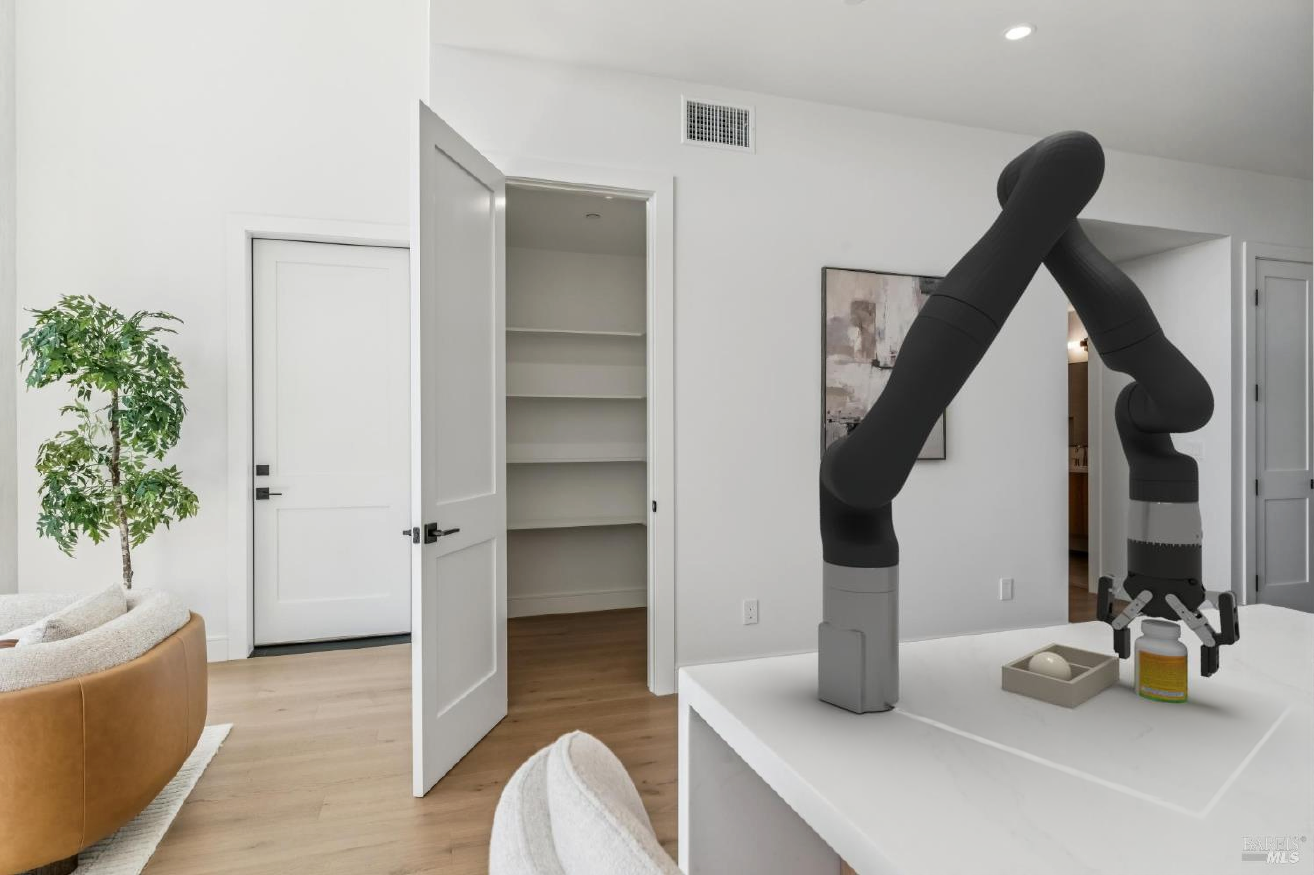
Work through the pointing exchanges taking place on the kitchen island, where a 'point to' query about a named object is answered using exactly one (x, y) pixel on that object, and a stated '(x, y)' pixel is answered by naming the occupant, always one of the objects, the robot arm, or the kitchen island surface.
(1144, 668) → the supplement bottle
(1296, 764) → the kitchen island surface
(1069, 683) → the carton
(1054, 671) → the egg
